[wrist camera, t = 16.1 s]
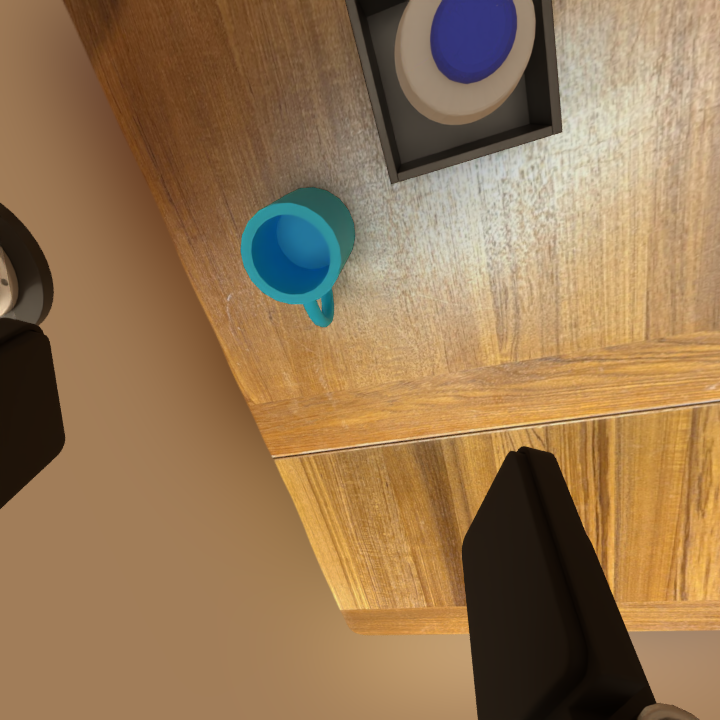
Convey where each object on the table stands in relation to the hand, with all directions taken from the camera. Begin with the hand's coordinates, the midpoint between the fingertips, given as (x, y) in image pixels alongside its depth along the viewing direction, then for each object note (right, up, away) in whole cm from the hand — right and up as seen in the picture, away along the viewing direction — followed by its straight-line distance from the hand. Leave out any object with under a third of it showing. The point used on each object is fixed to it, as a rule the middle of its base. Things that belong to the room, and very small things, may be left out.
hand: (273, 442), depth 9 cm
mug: (-2, +12, +34) cm, 36 cm away
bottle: (+9, +24, +25) cm, 36 cm away
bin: (+9, +24, +25) cm, 36 cm away
